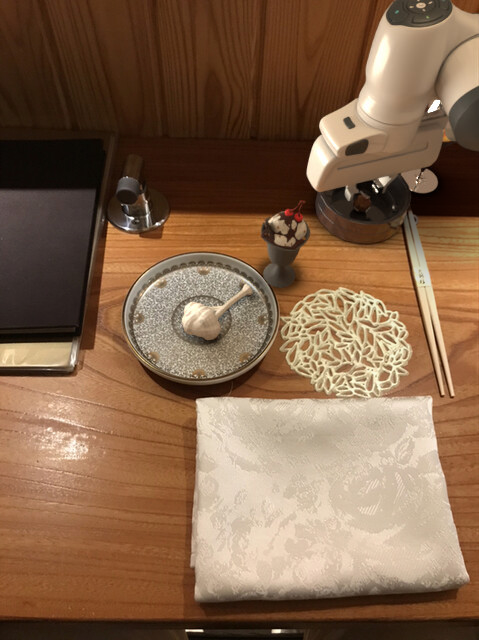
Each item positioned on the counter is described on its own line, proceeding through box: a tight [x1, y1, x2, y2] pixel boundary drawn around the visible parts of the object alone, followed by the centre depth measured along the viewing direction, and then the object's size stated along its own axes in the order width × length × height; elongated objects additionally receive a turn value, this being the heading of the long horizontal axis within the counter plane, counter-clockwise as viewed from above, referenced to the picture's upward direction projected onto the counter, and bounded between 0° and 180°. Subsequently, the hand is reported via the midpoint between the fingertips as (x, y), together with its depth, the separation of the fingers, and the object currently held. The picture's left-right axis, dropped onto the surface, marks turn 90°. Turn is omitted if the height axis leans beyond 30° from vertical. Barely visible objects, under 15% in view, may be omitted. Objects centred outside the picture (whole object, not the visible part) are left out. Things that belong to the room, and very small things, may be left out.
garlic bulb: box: [181, 283, 254, 341], centre depth 79 cm, size 7×5×12 cm
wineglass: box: [400, 101, 457, 194], centre depth 89 cm, size 8×8×18 cm
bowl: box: [314, 173, 412, 244], centre depth 90 cm, size 14×14×5 cm
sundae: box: [260, 200, 311, 289], centre depth 78 cm, size 7×7×15 cm
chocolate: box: [353, 191, 371, 212], centre depth 89 cm, size 3×2×4 cm
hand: (364, 194), depth 89 cm, fingers open, 3 cm apart
